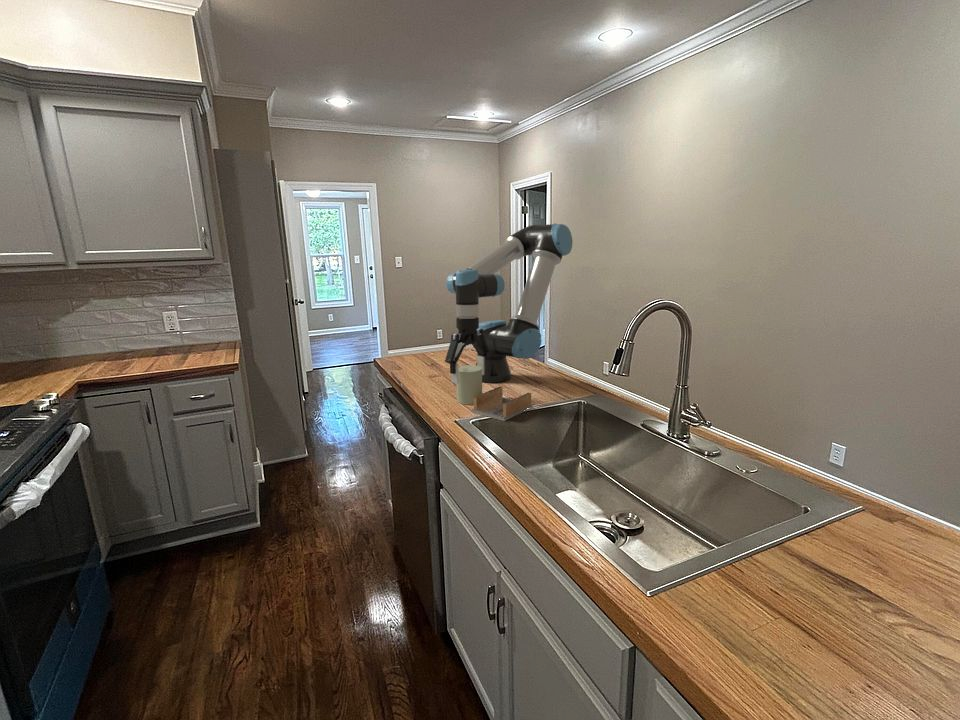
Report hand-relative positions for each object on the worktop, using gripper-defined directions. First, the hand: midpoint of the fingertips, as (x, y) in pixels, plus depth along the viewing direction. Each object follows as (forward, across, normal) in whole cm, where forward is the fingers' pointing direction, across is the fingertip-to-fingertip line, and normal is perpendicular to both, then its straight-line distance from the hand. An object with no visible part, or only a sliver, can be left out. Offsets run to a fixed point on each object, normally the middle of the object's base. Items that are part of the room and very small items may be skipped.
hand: (468, 378), depth 164 cm
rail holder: (+8, 0, +15) cm, 17 cm away
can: (+8, -1, 0) cm, 8 cm away
